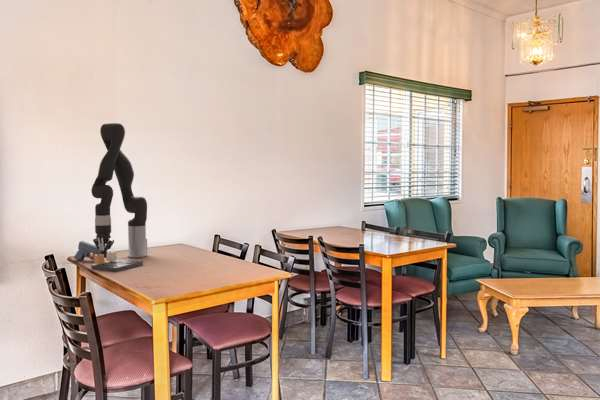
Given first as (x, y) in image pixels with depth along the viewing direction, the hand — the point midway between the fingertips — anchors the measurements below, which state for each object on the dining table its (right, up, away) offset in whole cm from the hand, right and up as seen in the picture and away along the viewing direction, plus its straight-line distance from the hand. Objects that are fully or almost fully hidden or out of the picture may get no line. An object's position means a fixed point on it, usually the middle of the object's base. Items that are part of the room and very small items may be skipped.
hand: (103, 257), depth 246 cm
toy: (-12, -3, +11) cm, 17 cm away
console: (+9, -4, -6) cm, 12 cm away
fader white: (+5, -1, -2) cm, 5 cm away
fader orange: (+2, -2, -9) cm, 10 cm away
